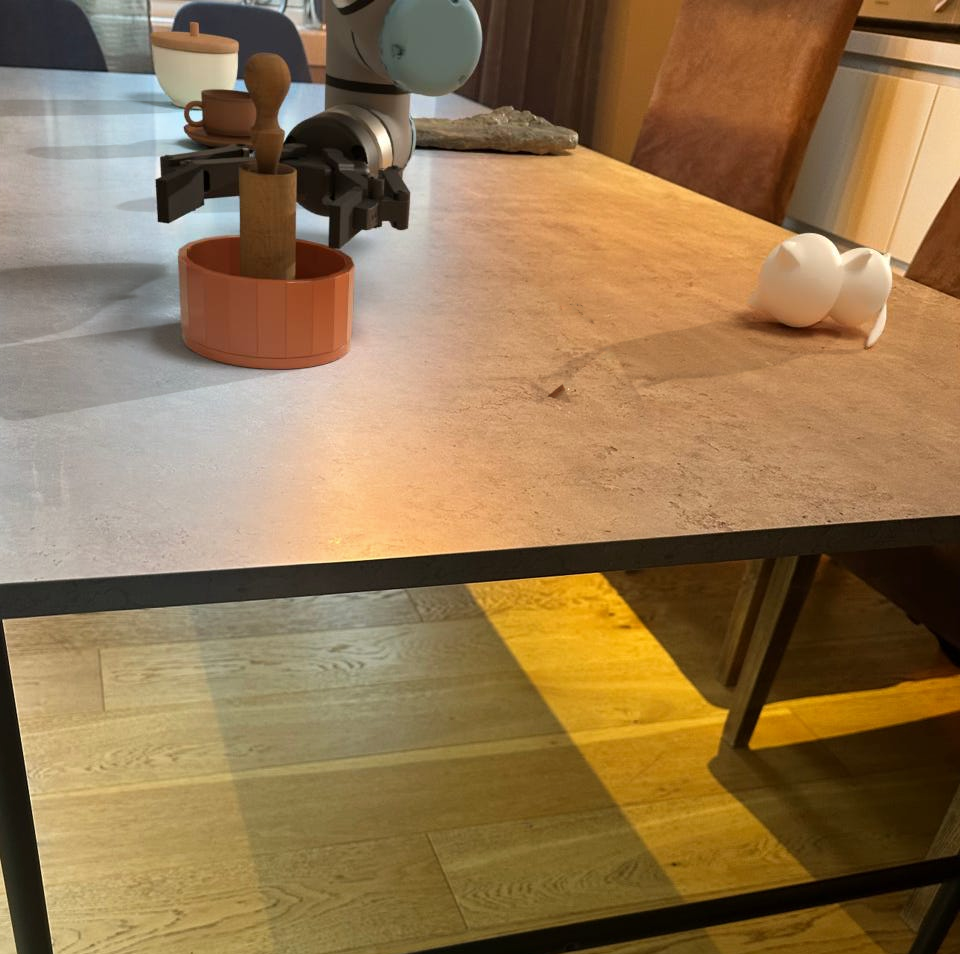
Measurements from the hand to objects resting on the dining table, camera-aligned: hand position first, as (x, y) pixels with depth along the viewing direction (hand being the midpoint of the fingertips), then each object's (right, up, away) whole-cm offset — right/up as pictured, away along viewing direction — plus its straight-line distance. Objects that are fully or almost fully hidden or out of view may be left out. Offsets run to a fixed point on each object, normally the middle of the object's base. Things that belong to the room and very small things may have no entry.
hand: (247, 214), depth 72 cm
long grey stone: (+13, +44, +87) cm, 98 cm away
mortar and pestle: (0, -5, +8) cm, 10 cm away
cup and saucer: (-17, +36, +69) cm, 79 cm away
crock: (0, -6, +9) cm, 10 cm away
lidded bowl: (-28, +53, +93) cm, 110 cm away
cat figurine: (+46, 0, +26) cm, 53 cm away
